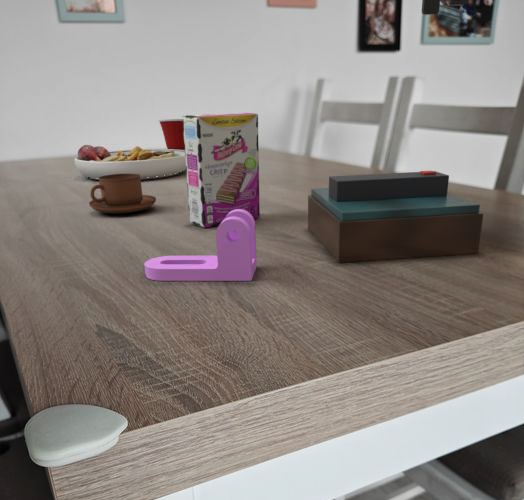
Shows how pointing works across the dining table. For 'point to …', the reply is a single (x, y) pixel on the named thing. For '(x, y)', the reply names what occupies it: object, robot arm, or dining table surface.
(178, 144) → the plastic cup
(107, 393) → the dining table surface
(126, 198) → the cup and saucer
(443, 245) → the footstool
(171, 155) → the bowl
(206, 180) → the candy bar box
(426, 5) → the robot arm
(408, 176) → the remote
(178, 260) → the bracket
